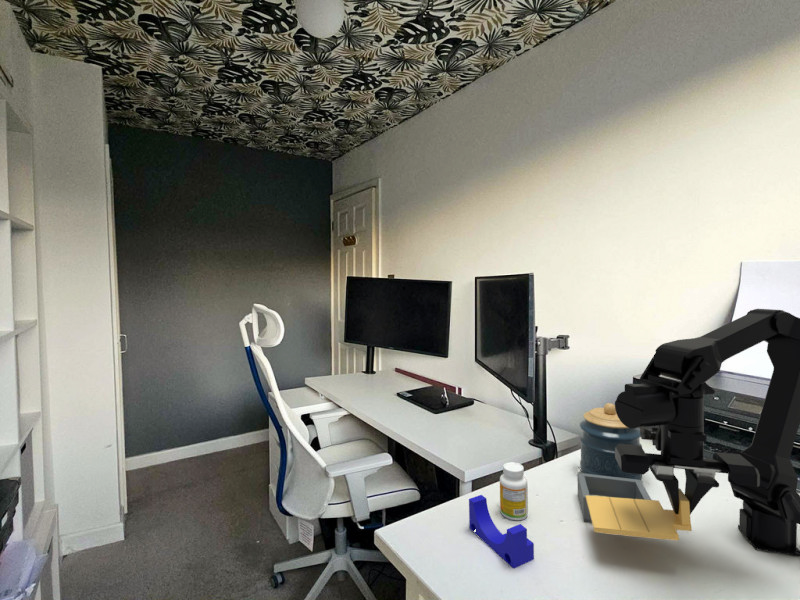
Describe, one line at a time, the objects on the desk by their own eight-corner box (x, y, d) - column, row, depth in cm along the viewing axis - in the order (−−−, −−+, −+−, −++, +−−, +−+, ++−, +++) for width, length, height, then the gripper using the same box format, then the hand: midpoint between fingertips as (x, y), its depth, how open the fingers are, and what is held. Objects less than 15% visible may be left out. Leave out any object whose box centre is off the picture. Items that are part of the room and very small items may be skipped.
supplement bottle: (507, 502, 83) (506, 458, 83) (532, 511, 80) (531, 465, 80) (495, 514, 79) (494, 467, 79) (521, 524, 76) (520, 475, 75)
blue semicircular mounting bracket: (533, 560, 67) (533, 526, 66) (513, 569, 65) (513, 534, 64) (488, 522, 77) (487, 492, 77) (469, 529, 75) (468, 498, 75)
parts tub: (640, 503, 82) (640, 479, 82) (655, 532, 72) (655, 506, 72) (577, 495, 86) (577, 472, 85) (583, 522, 76) (583, 497, 76)
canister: (599, 459, 102) (599, 392, 101) (653, 480, 91) (653, 405, 90) (568, 473, 95) (568, 401, 94) (622, 498, 84) (622, 417, 83)
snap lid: (676, 511, 70) (673, 479, 70) (699, 548, 60) (696, 511, 60) (586, 504, 74) (584, 474, 74) (594, 537, 65) (592, 503, 65)
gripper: (726, 409, 69) (726, 495, 70) (608, 402, 75) (609, 482, 76) (762, 433, 59) (761, 534, 59) (621, 423, 64) (622, 515, 65)
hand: (681, 513), depth 65 cm, fingers closed on snap lid
